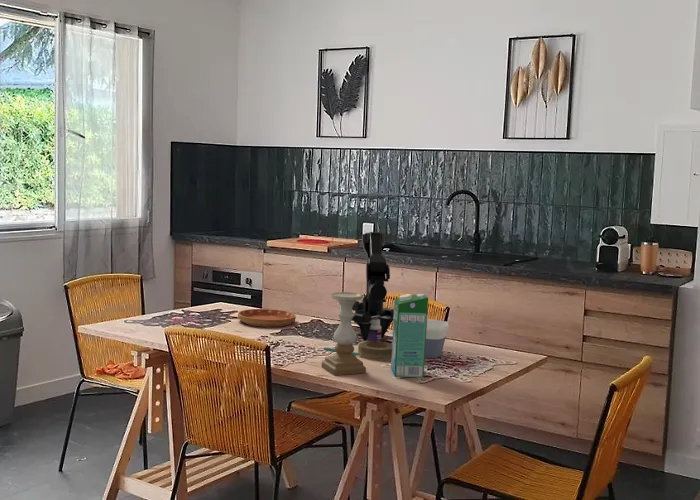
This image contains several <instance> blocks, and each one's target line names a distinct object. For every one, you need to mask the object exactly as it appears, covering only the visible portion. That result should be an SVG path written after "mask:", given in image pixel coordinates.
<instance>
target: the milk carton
mask: <svg viewBox="0 0 700 500" xmlns="http://www.w3.org/2000/svg"><path fill="white" fill-rule="evenodd" d="M393 304H394V305H393V309H394V319H393V321H392V324H393V325H392V338H391V339H392V341H391V344H392V356H391V359H390V370H391V372H392V374H393V376H394V377H396V378H397V377H399V378H400V377H401V378H424V377H425V375H424V374H425V359H426V358H425V345H426V328H427V319H428V309H429V297H428V296H427V295H426V294H424V293H423V292H421V293H416V294H411V293H407V294H401V295H400V296H398V297H397V298H394V303H393Z"/></svg>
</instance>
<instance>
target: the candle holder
mask: <svg viewBox="0 0 700 500" xmlns="http://www.w3.org/2000/svg"><path fill="white" fill-rule="evenodd" d="M330 297H331V299H334V300H338V301H337V302H338V304H339V305H340V311H339V312H338V313H337V316H338V318H339V320H340V323H339V325H338V327H337V328H336V329H335V331H334V333H333V340H334V342H335V343H336V345H335V346H334V349H335V351H336V353H334V354H332V355H331V356H325V357H324V360H322V361H321V368H322V369H324V370H325V371H327V372H328V373H329V374H331V375H333V376H347V374H348V375H362V374H367V367H366V366H365V365H364V362H363V361H362V360H361V359H359V358H358V357H357V355H353V354H352V352H355V346H354V345H353V344H354V343H356V341H357V339H358V338H357V337H358V336H357V335H358V334H357V333H356V331H355V329H354V327H353V324H352V322H353V321H352V319H353V317H354V314H353V313H354V311H353V310H352V307H353V305H354V304H355V301H362V300H363V298H364V295H363V294H361V293H357V292H348V291H338V292H336V291H335V292H332V293H330ZM335 351H334V352H335Z"/></svg>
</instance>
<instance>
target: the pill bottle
mask: <svg viewBox="0 0 700 500" xmlns="http://www.w3.org/2000/svg"><path fill="white" fill-rule="evenodd" d="M369 323H371V326H370V330H369V334H368V338H367V340H366V341H365V342H368V341H377V342H382V337H381V326H380V319H376V318H371V321H370V322H369Z"/></svg>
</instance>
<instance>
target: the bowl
mask: <svg viewBox="0 0 700 500" xmlns="http://www.w3.org/2000/svg"><path fill="white" fill-rule="evenodd" d="M449 328H450V324H449V322H448V321H444V320H439V319H432V318H431V319H429V318H427V328H426V345H425V359H431V360H432V359H437V358H439V357H440V356H441V355H442V353H443V349H444V344H445V343H446V338H447V335H448V331H449Z"/></svg>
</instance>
